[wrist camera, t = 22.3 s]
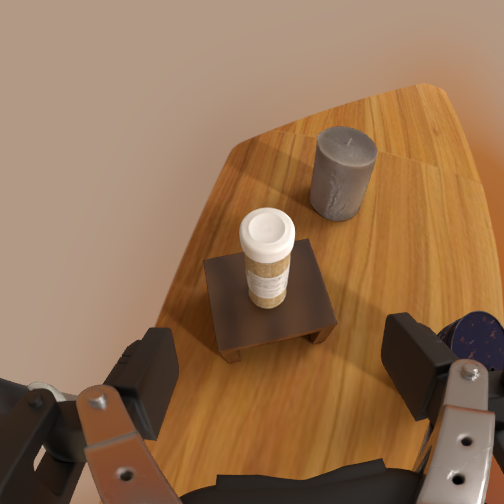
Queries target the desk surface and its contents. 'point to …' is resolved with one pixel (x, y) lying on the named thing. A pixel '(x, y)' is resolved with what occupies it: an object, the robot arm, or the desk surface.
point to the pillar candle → (341, 172)
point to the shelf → (271, 319)
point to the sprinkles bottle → (267, 254)
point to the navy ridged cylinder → (476, 339)
